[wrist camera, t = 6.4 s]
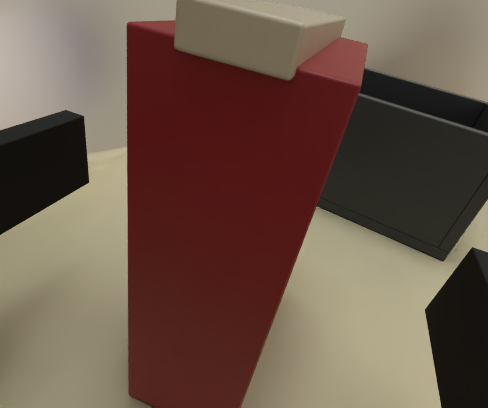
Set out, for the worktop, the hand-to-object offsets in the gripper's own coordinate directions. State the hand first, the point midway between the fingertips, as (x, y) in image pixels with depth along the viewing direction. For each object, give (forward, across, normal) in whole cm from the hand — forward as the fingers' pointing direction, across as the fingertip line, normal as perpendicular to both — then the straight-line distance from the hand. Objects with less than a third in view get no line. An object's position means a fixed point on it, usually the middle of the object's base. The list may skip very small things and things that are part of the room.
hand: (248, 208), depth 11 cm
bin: (+21, +6, -7) cm, 22 cm away
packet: (0, 0, -7) cm, 7 cm away
